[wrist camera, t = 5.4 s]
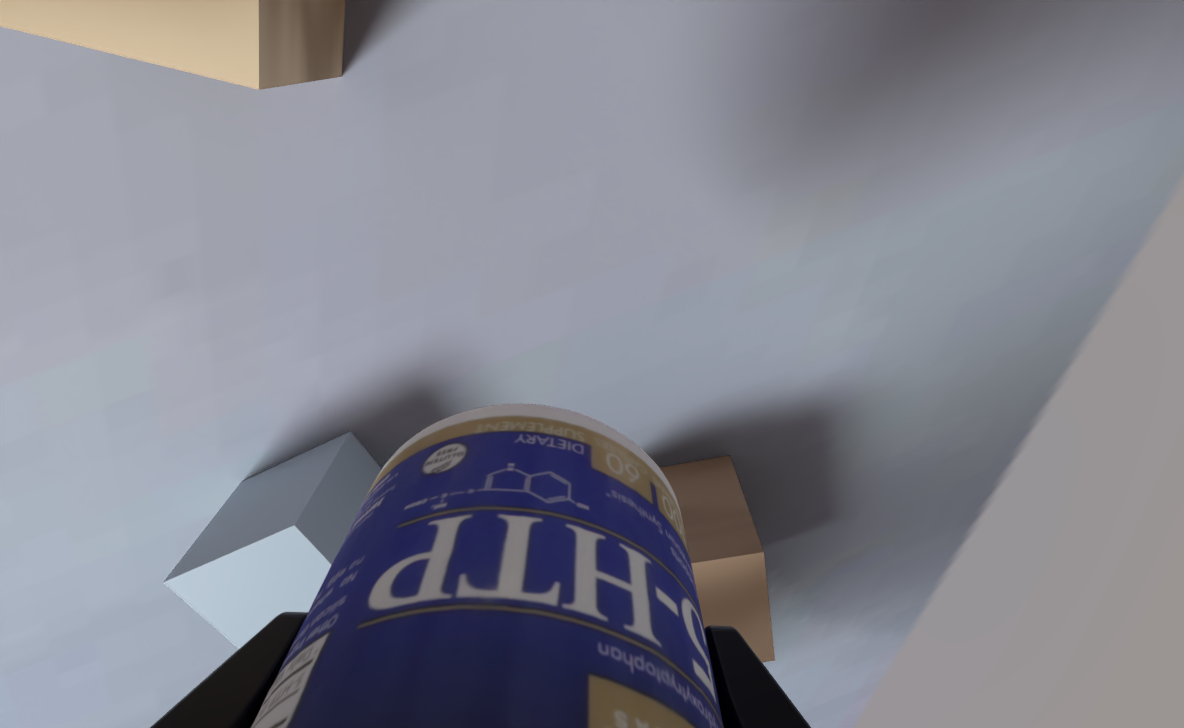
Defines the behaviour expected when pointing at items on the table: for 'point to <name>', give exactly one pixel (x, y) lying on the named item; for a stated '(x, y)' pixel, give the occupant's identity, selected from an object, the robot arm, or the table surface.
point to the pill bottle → (506, 589)
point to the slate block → (275, 539)
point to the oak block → (200, 34)
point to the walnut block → (724, 550)
